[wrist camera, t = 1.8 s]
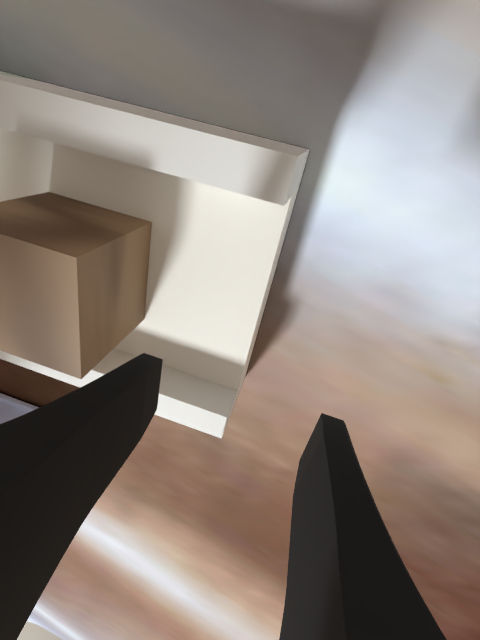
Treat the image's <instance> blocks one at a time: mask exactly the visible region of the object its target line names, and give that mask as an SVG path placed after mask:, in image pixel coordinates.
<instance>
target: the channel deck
mask: <svg viewBox="0 0 480 640" xmlns="http://www.w3.org/2000/svg"><path fill="white" fill-rule="evenodd" d="M309 151H310V150H309V149H305V148H301V147H297V146H293V145H289V144H286V143H282V142H278V141H274V140H270V139H266V138H262V137H258V136H254V135H250V134H246V133H242V132H238V131H234V130H230V129H226V128H223V127H219V126H215V125H211V124H207V123H203V122H199V121H195V120H191V119H187V118H183V117H179V116H175V115H171V114H167V113H164V112H160V111H156V110H152V109H148V108H144V107H140V106H136V105H132V104H128V103H124V102H120V101H116V100H112V99H108V98H104V97H101V96H97V95H93V94H89V93H85V92H81V91H77V90H73V89H69V88H65V87H61V86H57V85H53V84H49V83H45V82H41V81H38V80H34V79H30V78H26V77H22V76H18V75H14V74H10V73H6V72H2V71H0V202H1V201H6V200H11V199H16V198H21V197H26V196H31V195H36V194H41V193H46V192H51V193H55V194H58V195H61V196H65V197H68V198H72V199H75V200H78V201H82V202H85V203H89V204H92V205H96V206H99V207H102V208H106V209H109V210H113V211H116V212H119V213H123V214H126V215H130V216H133V217H136V218H140V219H143V220H147V221H150V222H152V228H151V241H150V254H149V267H148V280H147V293H146V306H145V319H144V320H143V321H142V322H141V323H140V324H139V325H138V326H137V327H136V328H135V329H134V330H133V331H132V332H131V333H129V334H128V335H127V336H126V337H125V338H124V339H123V340H122V341H121V342H120V343H119V344H118V345H117V346H116V347H115V348H114V349H113V350H112V351H111V352H110V353H108V354H107V355H106V356H105V357H104V358H103V359H102V360H101V361H100V362H99V363H98V364H97V365H96V366H95V367H94V368H93V369H92V370H91V371H90V372H89V373H88V374H86V375H85V376H84V377H83V378H82V379H79V378H76V377H73V376H70V375H67V374H65V373H62V372H59V371H56V370H53V369H51V368H48V367H45V366H42V365H39V364H37V363H34V362H31V361H28V360H25V359H23V358H20V357H17V356H14V355H11V354H9V353H6V352H3V351H0V359H2V360H5V361H8V362H11V363H13V364H16V365H19V366H22V367H24V368H27V369H30V370H33V371H36V372H38V373H41V374H44V375H47V376H49V377H52V378H55V379H58V380H61V381H63V382H66V383H69V384H72V385H74V386H77V387H82V386H84V385H86V384H88V383H90V382H92V381H94V380H95V379H97V378H99V377H101V376H103V375H105V374H106V373H108V372H110V371H112V370H114V369H115V368H117V367H119V366H121V365H122V364H124V363H126V362H128V361H129V360H131V359H133V358H135V357H137V356H138V355H140V354H142V353H146V354H149V355H152V356H155V357H158V358H161V359H163V363H162V371H161V380H160V388H159V397H158V405H157V410H156V412H155V415H158V416H161V417H163V418H166V419H169V420H172V421H174V422H177V423H180V424H183V425H186V426H188V427H191V428H194V429H197V430H199V431H202V432H205V433H208V434H211V435H213V436H216V437H219V438H222V436H223V433H224V431H225V428H226V425H227V423H228V420H229V418H230V415H231V413H232V410H233V407H234V405H235V402H236V400H237V397H238V395H239V392H240V389H241V387H242V384H243V382H244V379H245V376H246V373H247V369H248V365H249V362H250V358H251V355H252V351H253V348H254V344H255V341H256V337H257V334H258V330H259V327H260V323H261V320H262V316H263V313H264V309H265V306H266V302H267V299H268V295H269V291H270V288H271V284H272V281H273V277H274V274H275V270H276V267H277V263H278V260H279V256H280V253H281V249H282V246H283V242H284V239H285V235H286V232H287V228H288V225H289V221H290V217H291V214H292V210H293V207H294V203H295V200H296V196H297V193H298V189H299V186H300V182H301V179H302V175H303V172H304V168H305V165H306V161H307V158H308V154H309Z"/></svg>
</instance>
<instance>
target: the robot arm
mask: <svg viewBox="0 0 480 640" xmlns="http://www.w3.org/2000/svg"><path fill="white" fill-rule="evenodd" d="M162 363H163V359H161V358H158V357H155V356H152V355H149V354H146V353H142V354H140V355H138V356H137V357H135V358H133V359H131V360H129V361H128V362H126V363H124V364H122V365H121V366H119V367H117V368H115V369H114V370H112V371H110V372H108V373H106V374H105V375H103V376H101V377H99V378H97V379H95V380H94V381H92V382H90V383H88V384H86V385H84V386H82V387H80V388H79V389H77V390H75V391H73V392H71V393H69V394H67V395H65V396H63V397H61V398H58V399H56V400H54V401H52V402H50V403H48V404H46V405H44V406H42V407H40V408H39V407H36V406H34V405H31V404H28V403H25V402H23V401H20V400H17V399H15V398H12V397H9V396H7V395H4V394H1V393H0V640H17V638H18V636H19V634H20V632H21V630H22V628H23V627H24V625H25V623H26V621H27V619H28V618H29V616H30V614H31V612H32V610H33V608H34V607H35V605H36V603H37V601H38V599H39V598H40V596H41V594H42V592H43V590H44V589H45V587H46V585H47V583H48V582H49V580H50V578H51V576H52V575H53V573H54V571H55V569H56V567H57V566H58V564H59V562H60V560H61V559H62V557H63V555H64V554H65V552H66V550H67V548H68V547H69V545H70V543H71V542H72V540H73V538H74V536H75V535H76V533H77V531H78V530H79V528H80V526H81V525H82V523H83V521H84V520H85V518H86V517H87V515H88V514H89V512H90V511H91V509H92V508H93V506H94V505H95V503H96V502H97V500H98V499H99V498H100V496H101V495H102V493H103V492H104V491H105V489H106V488H107V486H108V485H109V484H110V482H111V481H112V479H113V478H114V477H115V475H116V474H117V472H118V471H119V469H120V468H121V467H122V465H123V464H124V462H125V461H126V460H127V458H128V457H129V455H130V454H131V452H132V451H133V450H134V448H135V447H136V445H137V444H138V442H139V441H140V439H141V438H142V436H143V434H144V432H145V431H146V429H147V427H148V425H149V423H150V421H151V419H152V418H153V416H154V414H155V412H156V410H157V405H158V397H159V388H160V380H161V371H162ZM279 640H447V639H446V638H445V636H444V635H443V633H442V631H441V630H440V628H439V627H438V625H437V623H436V621H435V620H434V618H433V616H432V614H431V613H430V611H429V609H428V607H427V606H426V604H425V602H424V600H423V599H422V597H421V595H420V593H419V591H418V590H417V588H416V586H415V584H414V582H413V580H412V579H411V577H410V575H409V573H408V571H407V569H406V567H405V565H404V563H403V561H402V560H401V558H400V556H399V554H398V552H397V550H396V548H395V546H394V543H393V541H392V539H391V537H390V535H389V533H388V531H387V529H386V527H385V524H384V522H383V520H382V518H381V516H380V513H379V511H378V509H377V507H376V504H375V502H374V499H373V497H372V495H371V492H370V490H369V487H368V485H367V482H366V480H365V478H364V475H363V472H362V470H361V467H360V465H359V462H358V459H357V456H356V454H355V451H354V448H353V445H352V442H351V439H350V436H349V433H348V430H347V427H346V425H345V423H344V421H343V420H340V419H337V418H334V417H331V416H328V415H325V414H321V416H320V418H319V420H318V422H317V424H316V427H315V429H314V431H313V433H312V435H311V437H310V439H309V441H308V444H307V446H306V448H305V450H304V452H303V454H302V456H301V459H300V462H299V467H298V472H297V477H296V483H295V489H294V494H293V506H292V519H291V533H290V547H289V562H288V576H287V588H286V598H285V607H284V613H283V620H282V626H281V633H280V639H279Z"/></svg>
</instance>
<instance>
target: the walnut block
mask: <svg viewBox="0 0 480 640" xmlns="http://www.w3.org/2000/svg"><path fill="white" fill-rule="evenodd" d="M151 228H152V222H150V221H147V220H143V219H140V218H136V217H133V216H130V215H126V214H123V213H119V212H116V211H113V210H109V209H106V208H102V207H99V206H96V205H92V204H89V203H85V202H82V201H78V200H75V199H72V198H68V197H65V196H61V195H58V194H55V193H51V192H46V193H41V194H36V195H31V196H26V197H21V198H16V199H11V200H6V201H1V202H0V351H3V352H6V353H9V354H11V355H14V356H17V357H20V358H23V359H25V360H28V361H31V362H34V363H37V364H39V365H42V366H45V367H48V368H51V369H53V370H56V371H59V372H62V373H65V374H67V375H70V376H73V377H76V378H79V379H82V378H83V377H84V376H85V375H86V374H88V373H89V372H90V371H91V370H92V369H93V368H94V367H95V366H96V365H97V364H98V363H99V362H100V361H101V360H102V359H103V358H104V357H105V356H106V355H107V354H108V353H110V352H111V351H112V350H113V349H114V348H115V347H116V346H117V345H118V344H119V343H120V342H121V341H122V340H123V339H124V338H125V337H126V336H127V335H128V334H129V333H131V332H132V331H133V330H134V329H135V328H136V327H137V326H138V325H139V324H140V323H141V322H142V321H143V320H144V319H145V306H146V293H147V280H148V267H149V254H150V241H151Z"/></svg>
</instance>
